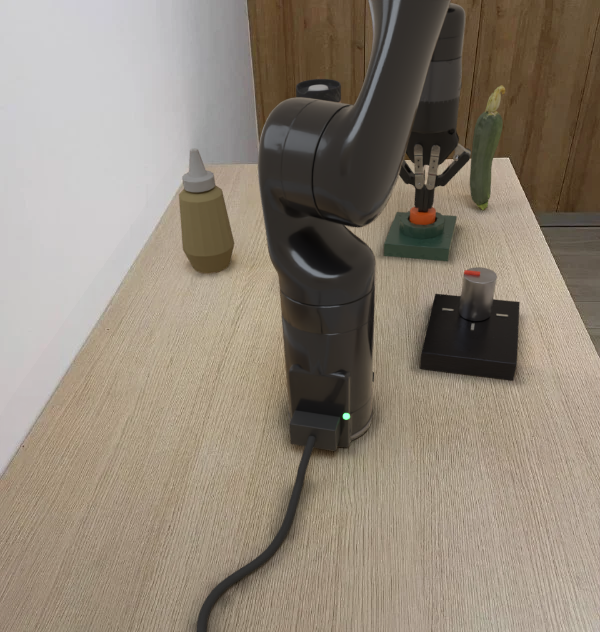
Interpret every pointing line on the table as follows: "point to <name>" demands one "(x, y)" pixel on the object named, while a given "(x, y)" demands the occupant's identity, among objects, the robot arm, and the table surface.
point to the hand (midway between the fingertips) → (423, 209)
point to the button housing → (420, 238)
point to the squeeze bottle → (204, 219)
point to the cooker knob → (477, 293)
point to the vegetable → (485, 149)
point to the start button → (422, 216)
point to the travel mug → (320, 90)
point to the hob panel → (471, 340)
